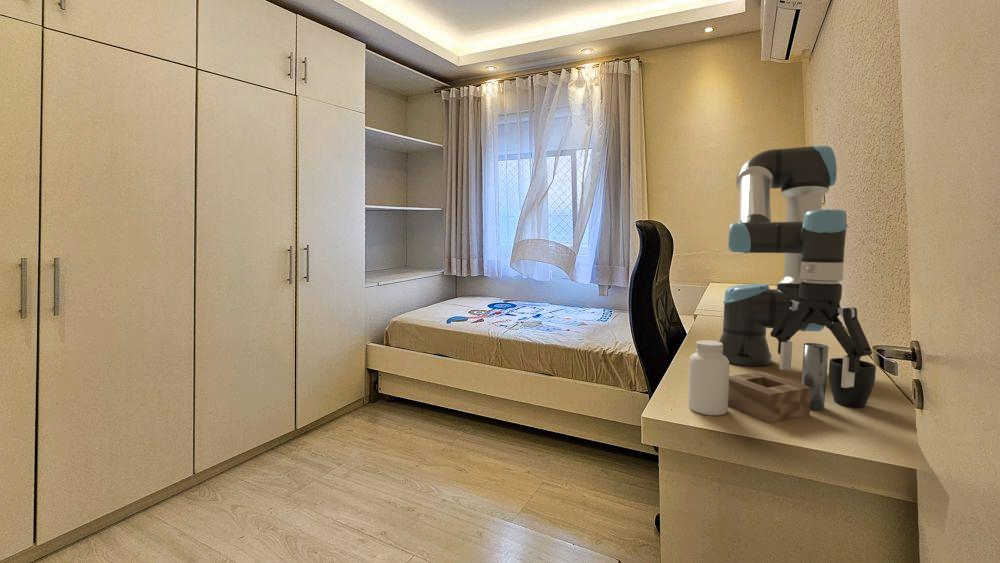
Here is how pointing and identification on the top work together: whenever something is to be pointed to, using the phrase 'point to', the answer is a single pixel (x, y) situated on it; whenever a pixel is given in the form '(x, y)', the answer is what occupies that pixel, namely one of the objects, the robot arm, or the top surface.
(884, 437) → the top surface
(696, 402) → the pill bottle
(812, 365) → the peg
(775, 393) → the socket block
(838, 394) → the mug
